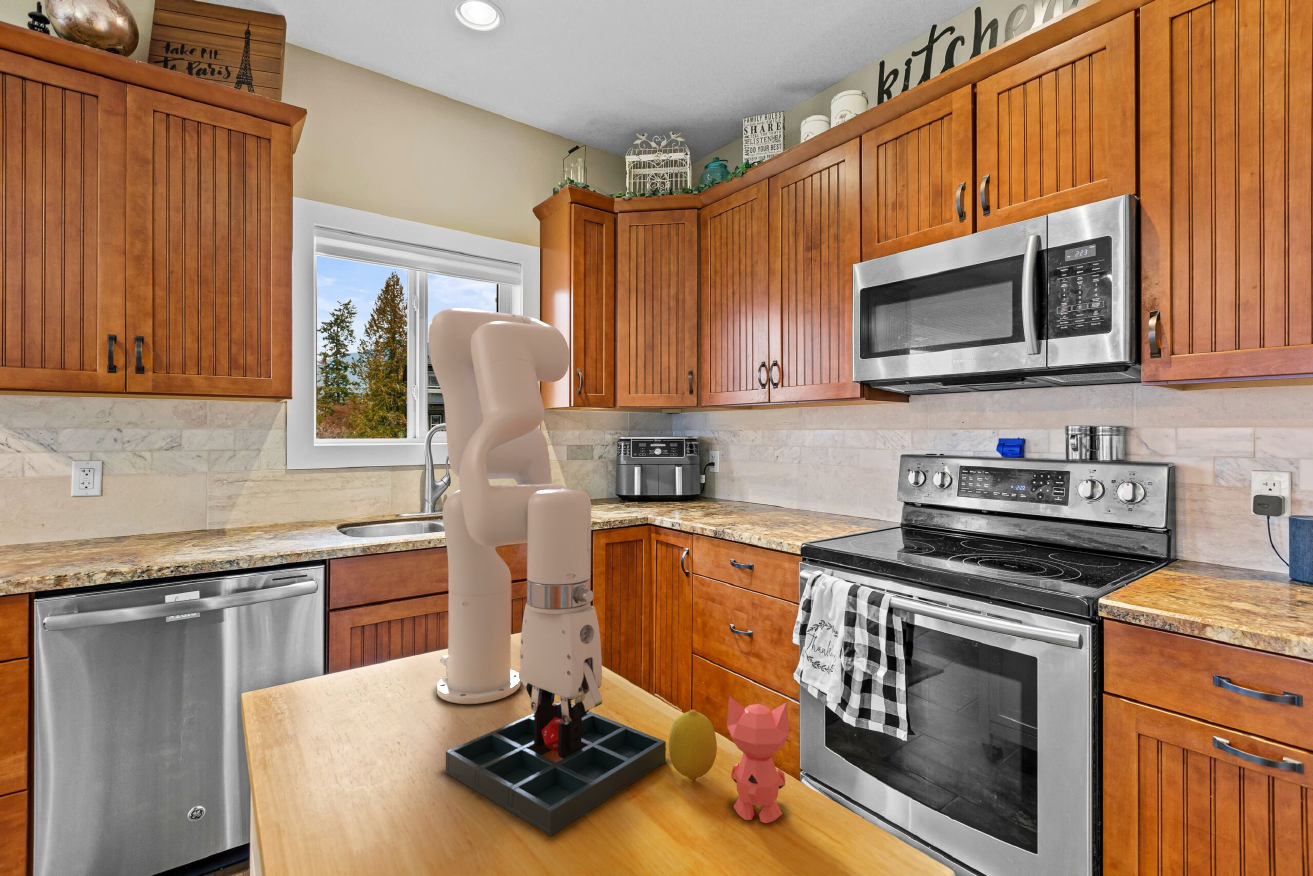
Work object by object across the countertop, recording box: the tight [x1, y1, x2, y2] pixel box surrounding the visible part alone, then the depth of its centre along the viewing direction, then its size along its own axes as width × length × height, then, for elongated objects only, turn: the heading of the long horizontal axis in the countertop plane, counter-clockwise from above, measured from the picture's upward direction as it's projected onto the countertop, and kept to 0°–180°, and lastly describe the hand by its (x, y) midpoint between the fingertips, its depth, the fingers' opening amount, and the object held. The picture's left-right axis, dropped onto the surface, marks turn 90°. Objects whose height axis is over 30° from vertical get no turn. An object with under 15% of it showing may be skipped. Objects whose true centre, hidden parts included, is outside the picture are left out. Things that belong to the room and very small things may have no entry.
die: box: [541, 717, 563, 752], centre depth 73 cm, size 4×3×4 cm
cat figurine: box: [726, 695, 792, 824], centre depth 64 cm, size 7×7×12 cm
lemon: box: [668, 709, 718, 782], centre depth 71 cm, size 6×6×8 cm
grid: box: [444, 701, 667, 837], centre depth 73 cm, size 18×18×2 cm
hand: (557, 745), depth 73 cm, fingers closed on die, 3 cm apart
